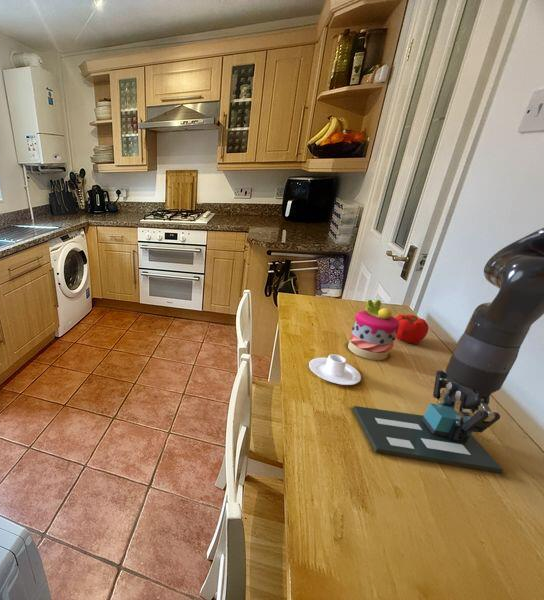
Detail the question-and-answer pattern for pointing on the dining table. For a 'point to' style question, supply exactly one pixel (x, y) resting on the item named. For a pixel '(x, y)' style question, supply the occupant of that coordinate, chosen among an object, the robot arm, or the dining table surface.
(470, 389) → the robot arm
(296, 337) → the dining table surface
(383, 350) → the cake
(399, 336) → the tomato
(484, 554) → the dining table surface
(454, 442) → the chalkboard
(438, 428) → the eraser
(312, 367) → the candle holder
